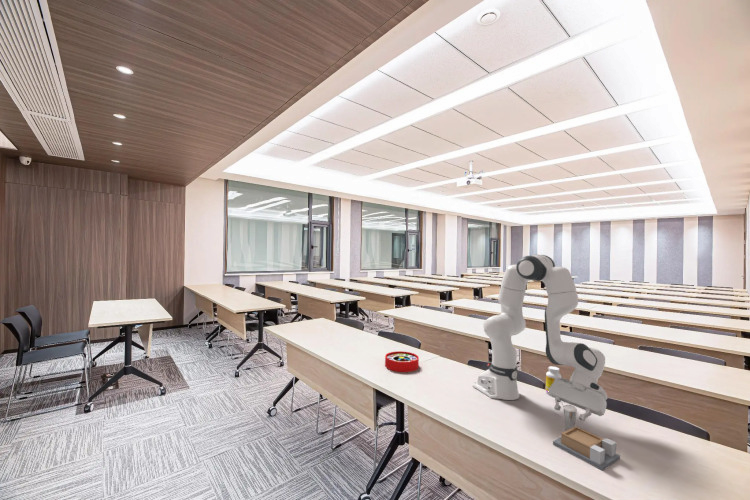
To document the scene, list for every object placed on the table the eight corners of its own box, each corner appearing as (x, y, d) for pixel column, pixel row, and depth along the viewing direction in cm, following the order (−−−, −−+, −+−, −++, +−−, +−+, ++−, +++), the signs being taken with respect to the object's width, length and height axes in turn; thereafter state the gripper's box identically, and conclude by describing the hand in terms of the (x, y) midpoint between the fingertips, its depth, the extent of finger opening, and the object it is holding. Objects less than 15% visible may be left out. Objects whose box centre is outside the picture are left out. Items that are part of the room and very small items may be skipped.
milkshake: (561, 423, 131) (562, 399, 131) (577, 428, 128) (577, 403, 128) (559, 428, 128) (560, 403, 128) (575, 433, 124) (576, 407, 124)
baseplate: (553, 444, 117) (553, 430, 117) (570, 435, 123) (571, 421, 123) (602, 470, 103) (602, 454, 103) (619, 458, 109) (620, 443, 109)
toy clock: (394, 349, 208) (423, 355, 197) (394, 358, 208) (423, 364, 197) (379, 357, 190) (410, 364, 180) (378, 367, 190) (409, 375, 180)
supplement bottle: (554, 397, 155) (555, 371, 155) (542, 392, 161) (543, 366, 161) (564, 395, 157) (564, 369, 157) (552, 390, 164) (552, 364, 164)
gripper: (553, 371, 140) (540, 399, 135) (607, 389, 123) (593, 421, 118) (559, 380, 143) (546, 407, 138) (612, 398, 125) (599, 430, 120)
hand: (568, 414), depth 128 cm, fingers open, 8 cm apart
